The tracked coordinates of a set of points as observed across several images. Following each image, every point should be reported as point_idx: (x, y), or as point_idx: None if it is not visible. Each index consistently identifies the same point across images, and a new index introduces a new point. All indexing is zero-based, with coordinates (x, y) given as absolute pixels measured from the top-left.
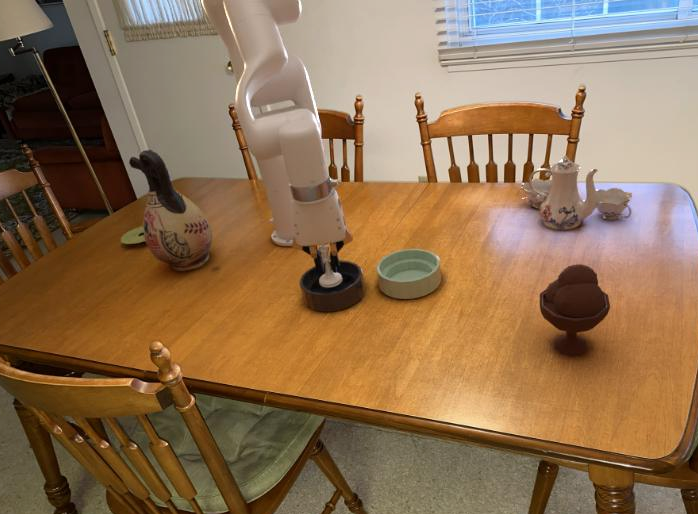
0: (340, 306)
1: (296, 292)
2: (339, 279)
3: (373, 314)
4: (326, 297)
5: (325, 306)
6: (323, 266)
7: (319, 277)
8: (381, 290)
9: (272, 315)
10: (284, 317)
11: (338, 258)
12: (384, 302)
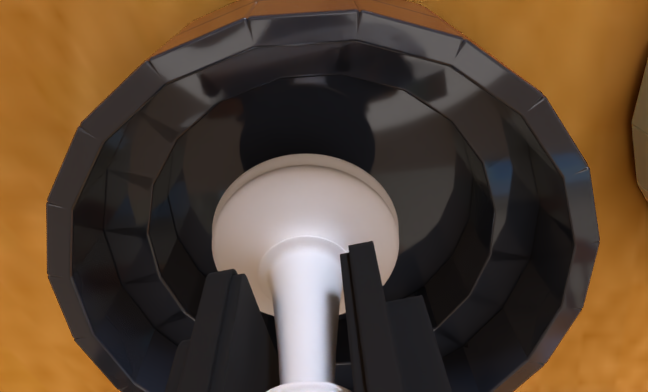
0: None
1: (32, 175)
2: (389, 272)
3: (567, 354)
4: None
5: None
6: (254, 323)
7: (169, 142)
8: (643, 193)
9: (28, 367)
10: (106, 378)
11: (435, 338)
12: (636, 271)
